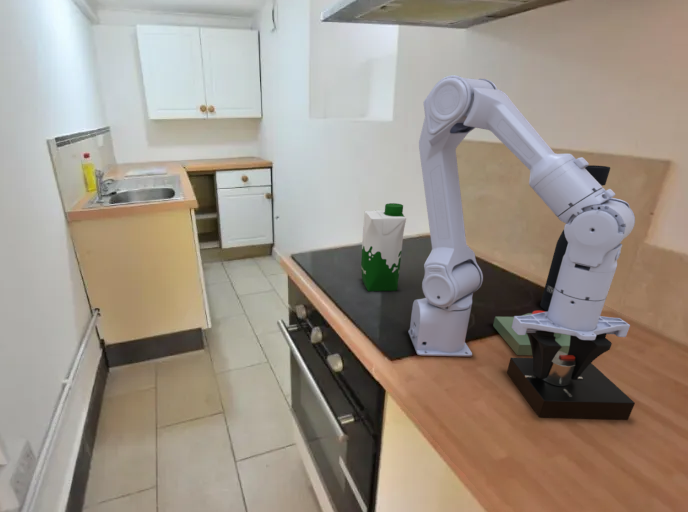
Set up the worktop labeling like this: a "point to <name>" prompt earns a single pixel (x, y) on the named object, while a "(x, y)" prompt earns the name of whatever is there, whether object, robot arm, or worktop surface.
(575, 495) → the worktop surface
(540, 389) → the control panel
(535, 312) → the red button
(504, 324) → the button block
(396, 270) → the milk carton
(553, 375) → the dial knob
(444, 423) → the worktop surface
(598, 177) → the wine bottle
